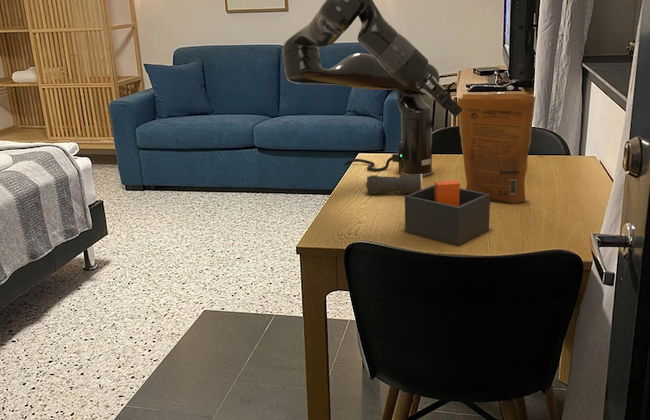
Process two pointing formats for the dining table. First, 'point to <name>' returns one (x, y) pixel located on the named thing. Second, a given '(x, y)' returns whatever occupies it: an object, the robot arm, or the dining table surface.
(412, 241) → the dining table surface
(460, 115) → the pancake mix bag
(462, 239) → the trash bin
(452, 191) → the block
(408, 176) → the flashlight
